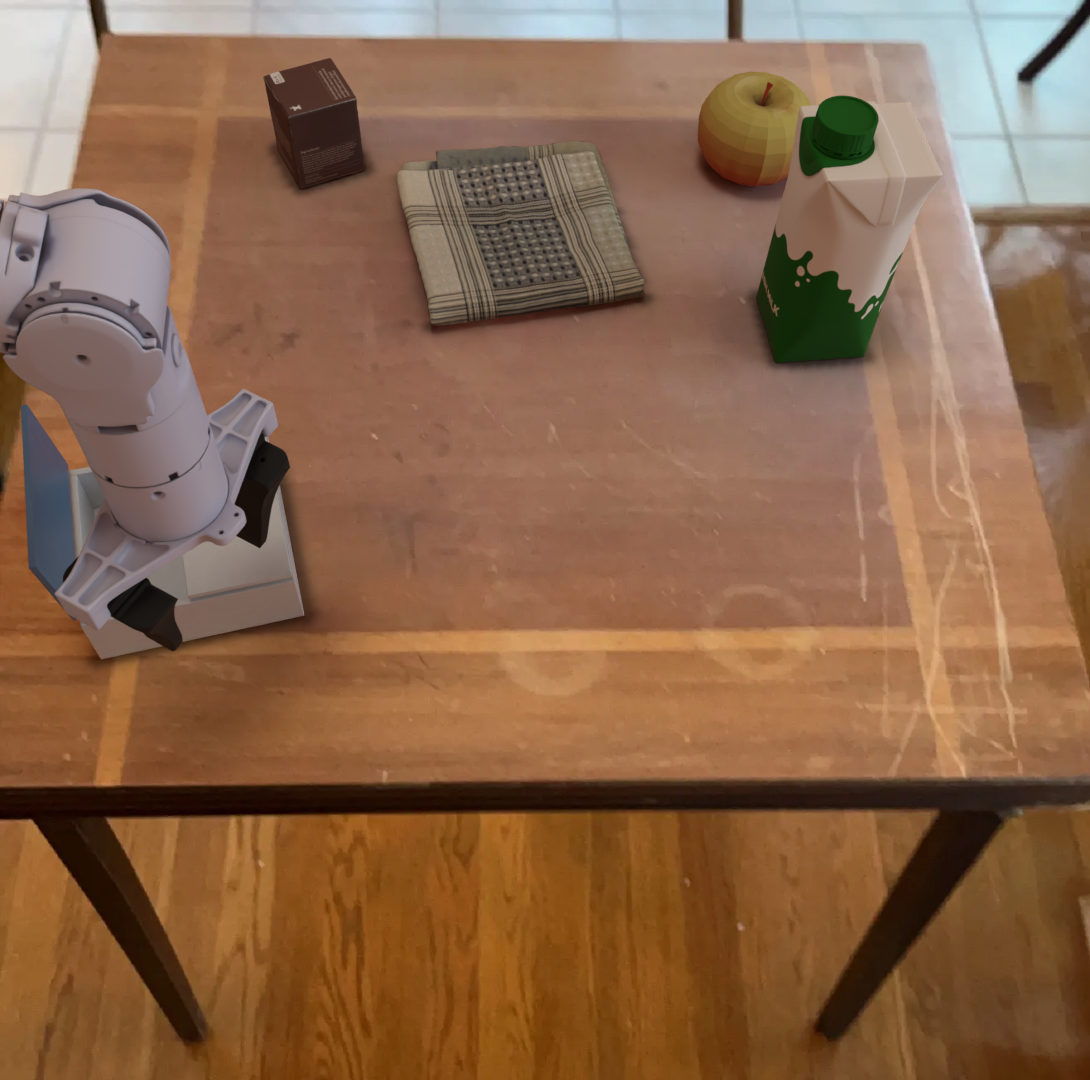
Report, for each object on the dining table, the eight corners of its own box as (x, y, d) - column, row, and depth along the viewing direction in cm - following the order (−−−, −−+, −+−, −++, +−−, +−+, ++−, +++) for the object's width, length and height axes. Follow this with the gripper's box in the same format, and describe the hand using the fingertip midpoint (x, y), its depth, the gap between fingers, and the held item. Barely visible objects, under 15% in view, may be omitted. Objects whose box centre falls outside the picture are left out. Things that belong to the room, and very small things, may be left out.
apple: (802, 134, 105) (823, 55, 98) (806, 209, 100) (828, 131, 93) (693, 124, 105) (706, 45, 99) (691, 198, 100) (705, 120, 93)
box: (366, 172, 100) (358, 99, 94) (299, 191, 99) (286, 118, 93) (341, 129, 103) (331, 55, 97) (275, 147, 102) (261, 73, 95)
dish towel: (650, 304, 93) (655, 274, 91) (427, 335, 91) (425, 305, 88) (594, 151, 103) (597, 120, 100) (391, 175, 100) (388, 144, 98)
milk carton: (742, 290, 94) (796, 73, 78) (850, 283, 95) (927, 67, 79) (766, 373, 90) (829, 161, 73) (880, 365, 91) (968, 154, 74)
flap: (79, 619, 70) (73, 621, 70) (68, 463, 76) (62, 465, 76) (35, 566, 65) (28, 568, 65) (27, 403, 71) (20, 405, 71)
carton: (100, 659, 75) (76, 619, 70) (88, 508, 81) (64, 462, 76) (304, 616, 77) (293, 574, 73) (277, 472, 83) (265, 425, 79)
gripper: (112, 593, 50) (182, 723, 61) (310, 369, 57) (340, 523, 68) (-15, 523, 52) (77, 662, 63) (193, 314, 59) (242, 473, 70)
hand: (207, 586), depth 66 cm, fingers open, 7 cm apart
